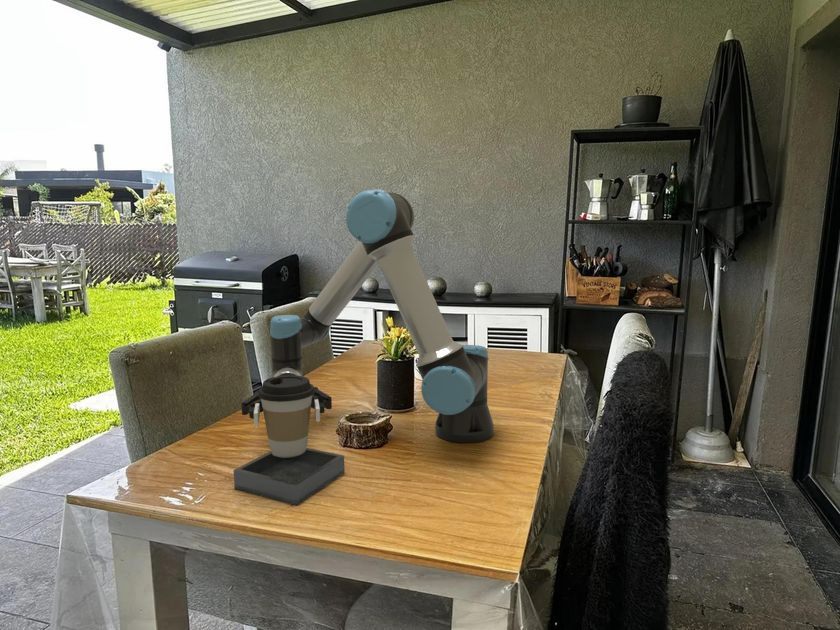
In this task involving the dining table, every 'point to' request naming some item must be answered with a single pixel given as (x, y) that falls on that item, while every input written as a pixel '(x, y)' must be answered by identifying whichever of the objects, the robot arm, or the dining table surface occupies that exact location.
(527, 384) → the dining table surface
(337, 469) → the square tray
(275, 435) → the coffee cup
